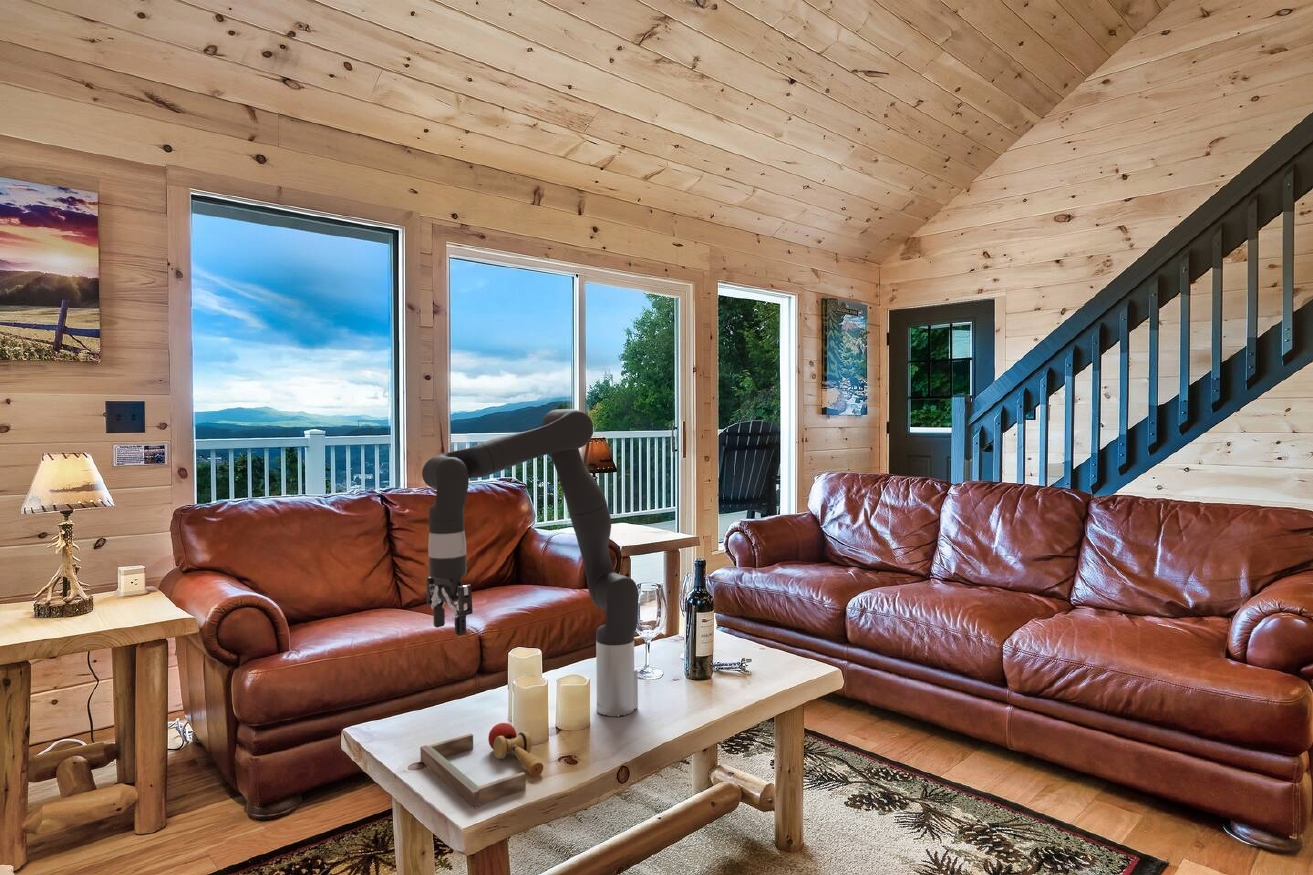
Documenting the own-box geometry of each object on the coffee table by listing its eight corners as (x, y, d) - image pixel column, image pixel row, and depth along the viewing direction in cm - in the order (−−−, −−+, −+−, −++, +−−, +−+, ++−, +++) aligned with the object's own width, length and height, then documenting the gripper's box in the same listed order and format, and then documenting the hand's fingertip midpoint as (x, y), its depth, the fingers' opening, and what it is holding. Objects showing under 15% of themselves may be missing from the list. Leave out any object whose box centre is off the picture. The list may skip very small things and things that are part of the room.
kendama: (556, 775, 161) (514, 735, 175) (553, 749, 159) (511, 710, 173) (522, 793, 156) (482, 750, 170) (519, 766, 154) (478, 725, 168)
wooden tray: (470, 746, 172) (470, 732, 171) (527, 789, 152) (526, 774, 152) (420, 760, 165) (420, 746, 164) (473, 808, 145) (473, 792, 145)
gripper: (482, 554, 160) (484, 633, 160) (446, 546, 170) (448, 620, 171) (449, 560, 154) (451, 641, 155) (413, 551, 164) (416, 627, 165)
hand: (449, 630), depth 163 cm, fingers open, 8 cm apart
